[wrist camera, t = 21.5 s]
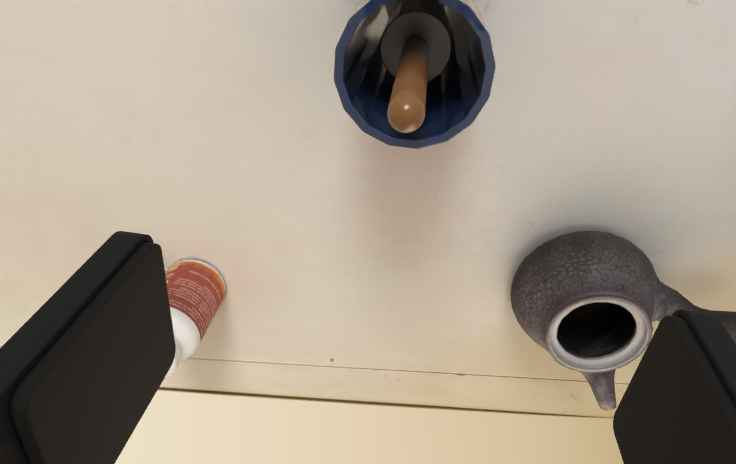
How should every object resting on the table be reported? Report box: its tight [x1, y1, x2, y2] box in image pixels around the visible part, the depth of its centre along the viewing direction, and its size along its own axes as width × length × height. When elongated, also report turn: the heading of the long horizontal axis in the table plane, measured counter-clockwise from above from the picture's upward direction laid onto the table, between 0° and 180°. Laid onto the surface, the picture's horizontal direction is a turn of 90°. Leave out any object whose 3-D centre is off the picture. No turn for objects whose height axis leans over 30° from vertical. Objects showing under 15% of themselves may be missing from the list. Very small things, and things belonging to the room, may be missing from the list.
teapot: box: [511, 231, 736, 410], centre depth 45 cm, size 19×15×10 cm
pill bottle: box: [164, 259, 226, 379], centre depth 50 cm, size 6×6×11 cm
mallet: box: [380, 0, 452, 133], centre depth 31 cm, size 4×4×20 cm
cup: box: [334, 0, 495, 149], centre depth 34 cm, size 8×8×14 cm
